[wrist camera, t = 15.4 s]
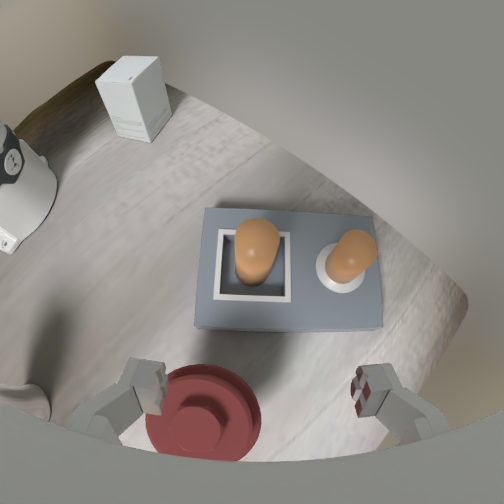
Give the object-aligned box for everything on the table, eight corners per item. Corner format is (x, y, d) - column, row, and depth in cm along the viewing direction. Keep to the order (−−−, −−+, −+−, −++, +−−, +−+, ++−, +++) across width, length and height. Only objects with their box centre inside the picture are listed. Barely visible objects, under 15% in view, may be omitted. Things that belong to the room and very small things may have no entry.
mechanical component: (153, 390, 30) (224, 347, 32) (201, 459, 27) (274, 417, 29) (107, 401, 18) (214, 339, 20) (180, 503, 15) (291, 446, 18)
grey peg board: (198, 328, 33) (182, 316, 24) (207, 219, 38) (199, 178, 29) (372, 330, 33) (410, 318, 25) (363, 227, 38) (391, 192, 30)
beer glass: (35, 371, 29) (-44, 361, 15) (61, 413, 27) (-17, 423, 13) (13, 395, 27) (-61, 392, 13) (37, 436, 25) (-36, 449, 11)
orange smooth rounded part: (234, 286, 33) (234, 259, 25) (235, 253, 35) (235, 217, 27) (269, 286, 34) (280, 259, 25) (268, 254, 35) (279, 218, 27)
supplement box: (173, 115, 45) (161, 55, 33) (150, 144, 42) (130, 83, 31) (140, 108, 46) (123, 54, 34) (117, 136, 43) (93, 81, 31)
